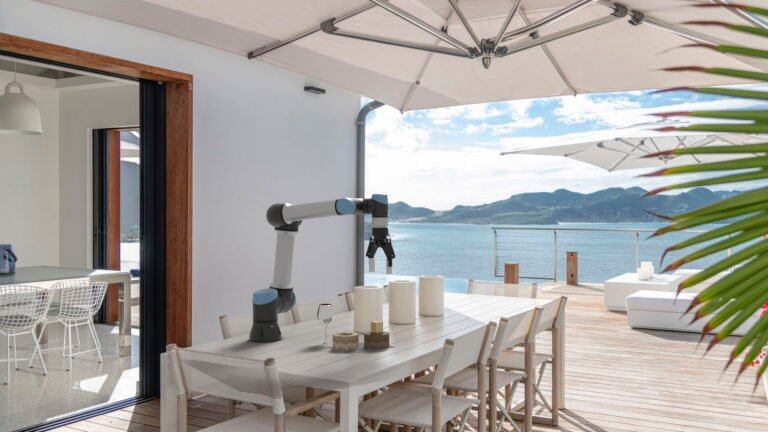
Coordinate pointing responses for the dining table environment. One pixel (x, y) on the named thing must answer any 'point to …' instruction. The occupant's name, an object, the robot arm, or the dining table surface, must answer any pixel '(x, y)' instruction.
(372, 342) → the walnut bead
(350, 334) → the beech bead
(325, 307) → the wineglass
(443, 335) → the dining table surface
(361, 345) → the mat
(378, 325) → the yellow peg
